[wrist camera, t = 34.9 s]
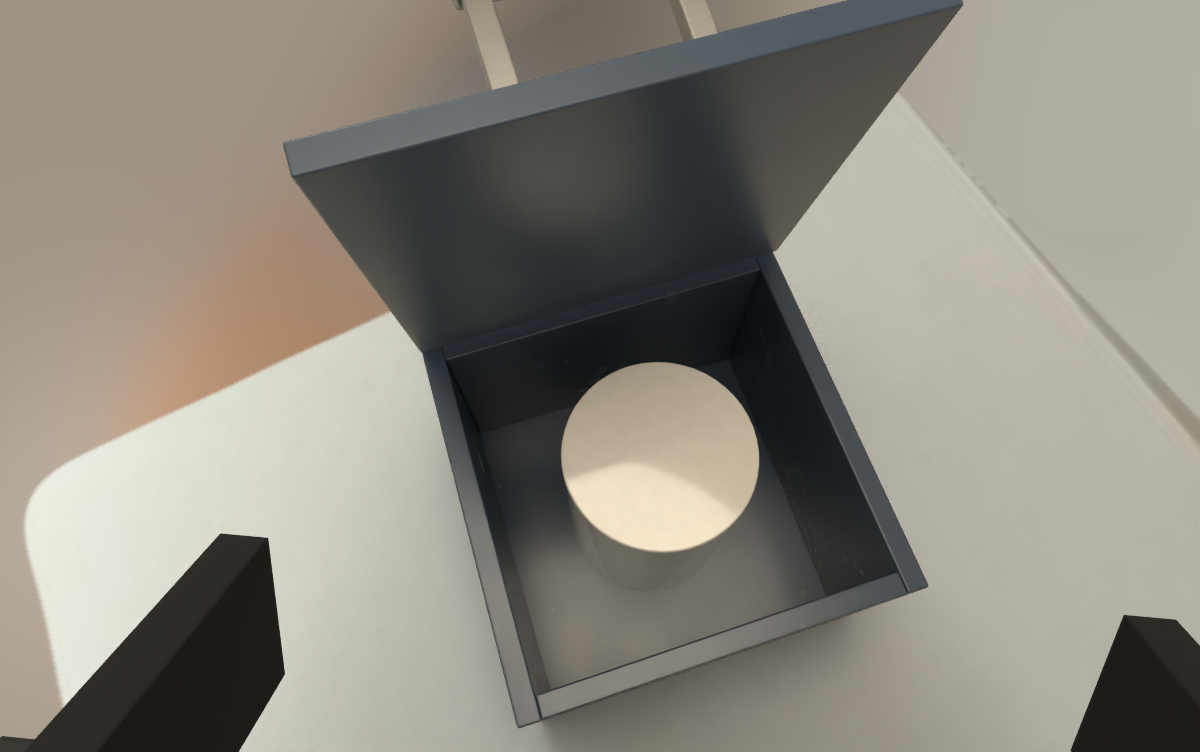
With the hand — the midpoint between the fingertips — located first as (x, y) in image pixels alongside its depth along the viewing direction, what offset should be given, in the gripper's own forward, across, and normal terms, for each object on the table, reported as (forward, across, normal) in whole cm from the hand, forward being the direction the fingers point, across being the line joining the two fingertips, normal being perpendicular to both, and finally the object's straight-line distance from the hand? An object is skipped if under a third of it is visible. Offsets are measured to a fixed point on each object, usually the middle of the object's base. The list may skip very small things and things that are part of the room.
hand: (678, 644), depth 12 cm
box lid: (+13, -2, +4) cm, 14 cm away
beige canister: (+22, 0, -12) cm, 25 cm away
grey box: (+22, 0, -12) cm, 25 cm away
